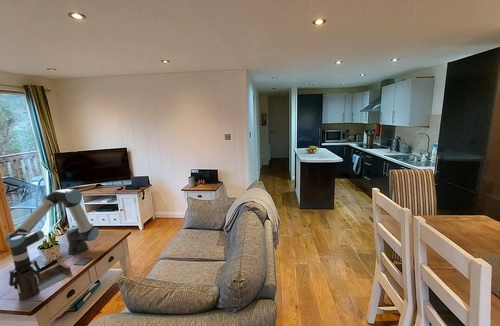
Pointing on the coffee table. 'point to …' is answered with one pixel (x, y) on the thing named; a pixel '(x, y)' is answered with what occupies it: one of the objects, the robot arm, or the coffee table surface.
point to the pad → (51, 280)
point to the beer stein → (27, 285)
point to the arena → (54, 271)
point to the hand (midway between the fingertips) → (28, 287)
